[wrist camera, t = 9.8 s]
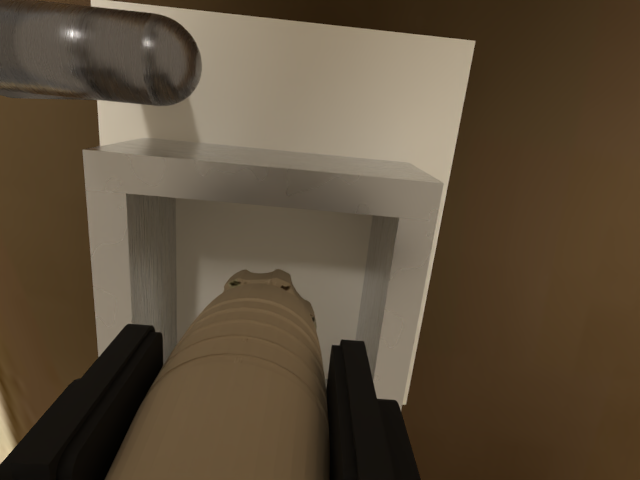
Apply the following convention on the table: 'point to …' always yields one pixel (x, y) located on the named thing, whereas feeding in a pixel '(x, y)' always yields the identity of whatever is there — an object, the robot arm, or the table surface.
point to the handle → (236, 393)
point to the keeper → (253, 162)
